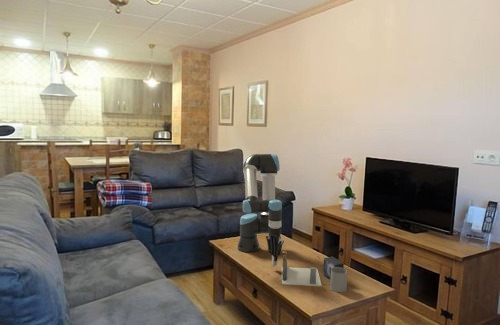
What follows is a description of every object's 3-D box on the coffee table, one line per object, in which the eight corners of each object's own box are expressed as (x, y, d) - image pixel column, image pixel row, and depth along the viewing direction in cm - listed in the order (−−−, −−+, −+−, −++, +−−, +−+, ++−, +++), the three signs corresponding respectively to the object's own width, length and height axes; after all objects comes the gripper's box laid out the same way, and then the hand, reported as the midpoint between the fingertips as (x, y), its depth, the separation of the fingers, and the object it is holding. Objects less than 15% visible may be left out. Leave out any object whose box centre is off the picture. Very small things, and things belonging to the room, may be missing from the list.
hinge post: (282, 279, 195) (282, 260, 193) (286, 279, 194) (287, 260, 193) (282, 281, 192) (282, 262, 191) (286, 281, 192) (287, 262, 191)
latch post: (309, 283, 191) (310, 267, 190) (315, 283, 191) (315, 267, 190) (310, 285, 189) (310, 269, 187) (315, 285, 188) (316, 269, 187)
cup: (336, 293, 180) (337, 274, 179) (326, 286, 187) (327, 268, 186) (349, 290, 183) (350, 272, 182) (339, 283, 191) (340, 266, 189)
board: (281, 268, 210) (281, 267, 210) (317, 269, 208) (317, 268, 208) (281, 284, 189) (281, 283, 189) (321, 286, 187) (321, 285, 187)
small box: (322, 275, 201) (323, 257, 199) (332, 273, 203) (332, 256, 202) (333, 283, 191) (334, 264, 190) (343, 281, 194) (344, 262, 192)
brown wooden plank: (282, 277, 195) (282, 262, 194) (282, 265, 211) (282, 251, 210) (286, 277, 195) (287, 262, 194) (286, 265, 211) (286, 251, 210)
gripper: (262, 225, 207) (262, 263, 210) (278, 230, 197) (277, 271, 200) (271, 223, 212) (271, 260, 214) (287, 228, 202) (286, 267, 204)
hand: (274, 265), depth 207 cm, fingers closed
